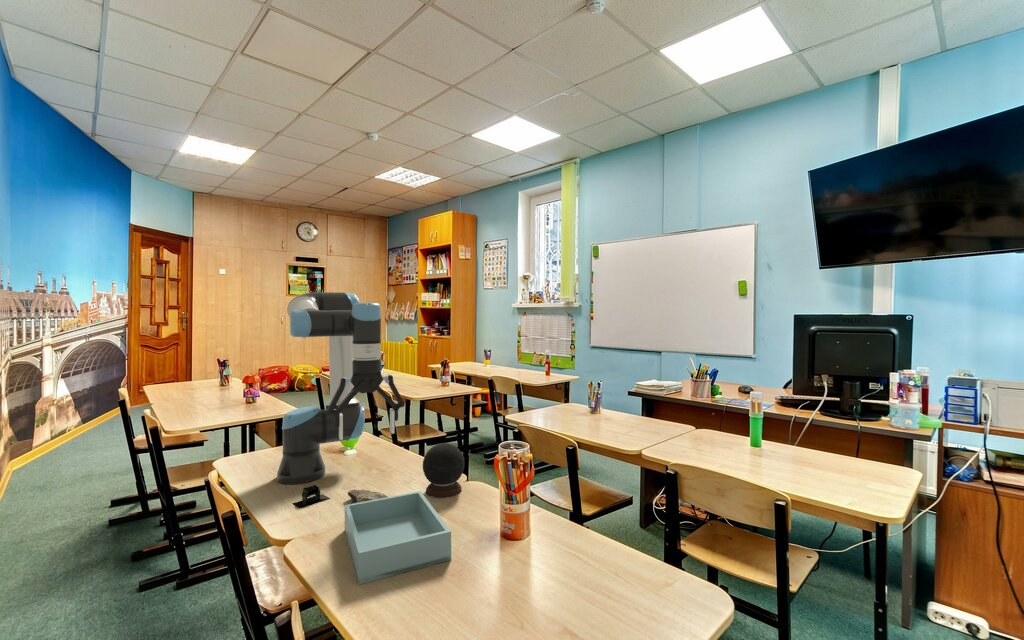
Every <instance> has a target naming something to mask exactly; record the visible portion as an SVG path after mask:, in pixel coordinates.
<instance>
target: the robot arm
mask: <svg viewBox="0 0 1024 640" xmlns="http://www.w3.org/2000/svg"><path fill="white" fill-rule="evenodd" d="M286 308H287V311H286V312H287V315H288V317H289V333H290V335H291V337H293V338H305V339H306V338H314V337H315V338H317V337H318V338H319V337H328V361H329V362H328V368H329V400H328V401H327V402H326V404H325V409H321V408H320V407H319V406H318V405H314V406H313V405H312V406H305V407H300V408H295V409H292V410H290V411H288V412H286V413H285V414H284V415H283V417H282V426H281V430H282V457H281V461H280V463H279V466H278V469H277V473H276V481H277V482H278V483H280V484H284V485H285V484H286V485H287V484H288V485H296V484H304V483H309V482H312V481H316V480H318V479H321V478H322V477H323V476H325V475H326V465H325V461H324V459H323V457H322V454H321V450H320V448H321V447H320V446H321V445H323V444H329V443H337V442H343V441H346V442H347V441H348V442H349V441H350V440H356V439H358V438H360V437H361V436H362V434H363V431H364V428H365V422H366V421H365V419H366V414H365V413H366V412H365V411H366V410H365V406H363V405H360V403H361V402H360V400H359V399H357V398H356V396H357V395H358V393H361V394H366V393H370V394H371V393H374V392H376V391H377V392H378V393H379V394H380V396H381V397H382V398H383V399H384V400H385V401H386V402H387V403H388V404H389V405H390V406H391V408H389V433H391V434H392V435H393V434H396V433H395V422H397V421H398V420H399V410H400V408H404V407H405V405H406V404H405V401H404V400H403V398H402V396H401V394H400V392H399V390H398V389H397V387H396V385H395V383H394V376H393V375H392V374H387V375H383V376H382V360H381V359H380V358H381V357H382V345H381V344H382V343H381V342H382V341H381V340H382V311H381V309H382V308H381V305H380V304H379V303H377V302H360V299H359V297H358V295H356V294H355V293H351V292H350V293H349V292H345V291H343V292H324V291H323V292H320V291H319V292H317V291H313V292H307V293H302V294H300V295H297V296H295V297H293V298H292V299H291V300H290V301H289V302H288V305H287V307H286ZM383 381H384V382H385V383H386V384H388V387H389V388H390V390H391V392H392V394H393V396H394V398H395V399H396V401H397V403H396V402H395V401H394V400H393V399H392V398H391V397H390V396H389V395H388V394H387V393H386V392H385V391H384V390H383V388H381V384H382V383H383Z"/></svg>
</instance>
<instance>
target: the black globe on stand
mask: <svg viewBox="0 0 1024 640" xmlns="http://www.w3.org/2000/svg"><path fill="white" fill-rule="evenodd" d="M464 470H465V458H464V455H463V453H462V452H461V450H460V449H459V447H458V446H456V445H455V444H452V443H449V442H448V443H447V442H440V443H437V444H435V445H433V446H432V447H430V449H428V450H427V452H426V453H425V455H424V457H423V459H422V472H423V474H424V476H425V478H426V480H427V481H428V482H429V484H428V486H427V487H425V493H426V495H427V496H429V497H431V498H433V499H446V498H452V497H455V496H458V495H459V494H461V493H462V485H461V484H460V483H459V482H458V480H459V479H461V476H462V475H463V473H464Z"/></svg>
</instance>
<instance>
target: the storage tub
mask: <svg viewBox="0 0 1024 640" xmlns="http://www.w3.org/2000/svg"><path fill="white" fill-rule="evenodd" d="M344 532H346V533H345V536H347V537H346V540H347V539H348V541H347V544H348V548H349V552H350V555H351V559H352V563H354V564H353V567H354V571H355V574H356V579H357V582H358V585H362V584H366V583H371V582H374V581H378V580H382V579H385V578H389V577H392V576H397V575H400V574H404V573H408V572H410V571H411V572H412V571H415V570H419V569H423V568H427V567H430V566H434V565H437V564H442V563H445V562H450V561H452V531H451V529H450V528H449V526H448V525H447V524H446V522H445V521H444V520H443V518H442V517H441V516H440V515H439V513H438V512H437V511H436V509H435V508H434V507H433V506H432V504H431V503H430V501H429V500H428V499H427V497H426V496H425V495H424V493H422V491H421V490H419V491H418V490H417V491H414V492H408V493H403V494H398V495H393V496H388V497H386V498H381V499H375V500H370V501H365V502H359V503H354V504H353V503H349V504H344Z"/></svg>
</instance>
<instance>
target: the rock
mask: <svg viewBox="0 0 1024 640" xmlns="http://www.w3.org/2000/svg"><path fill="white" fill-rule="evenodd" d="M347 496H349V497H350V500H351V504H354V503H359V502H365V501H370V500H375V499H381V498H386V497H389V496H388V495H386V494H385V493H383V492H377V491H372V490H365V489H350V490H348V491H347Z"/></svg>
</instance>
